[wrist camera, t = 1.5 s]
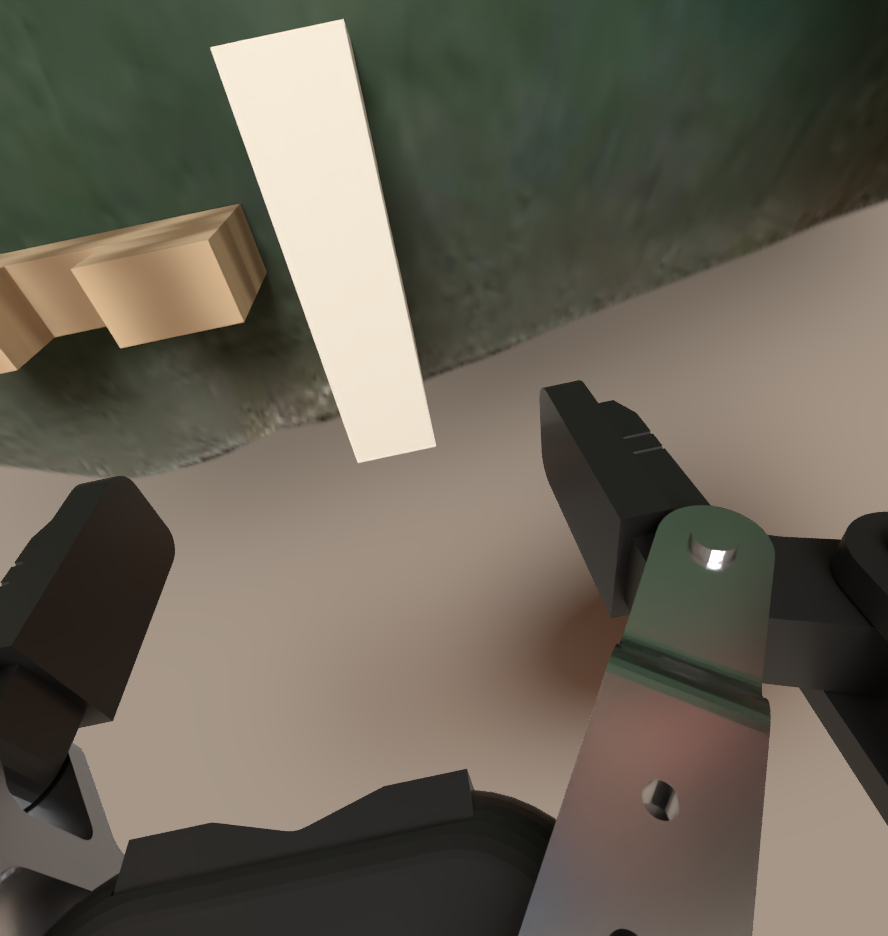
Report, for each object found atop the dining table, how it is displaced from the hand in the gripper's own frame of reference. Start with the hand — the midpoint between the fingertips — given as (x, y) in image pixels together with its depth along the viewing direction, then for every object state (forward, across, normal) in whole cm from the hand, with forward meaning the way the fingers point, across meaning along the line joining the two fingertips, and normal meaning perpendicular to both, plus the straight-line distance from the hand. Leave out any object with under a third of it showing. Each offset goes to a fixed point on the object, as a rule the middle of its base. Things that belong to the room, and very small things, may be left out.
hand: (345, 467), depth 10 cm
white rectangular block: (+22, 0, 0) cm, 22 cm away
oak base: (+22, +14, 0) cm, 25 cm away
